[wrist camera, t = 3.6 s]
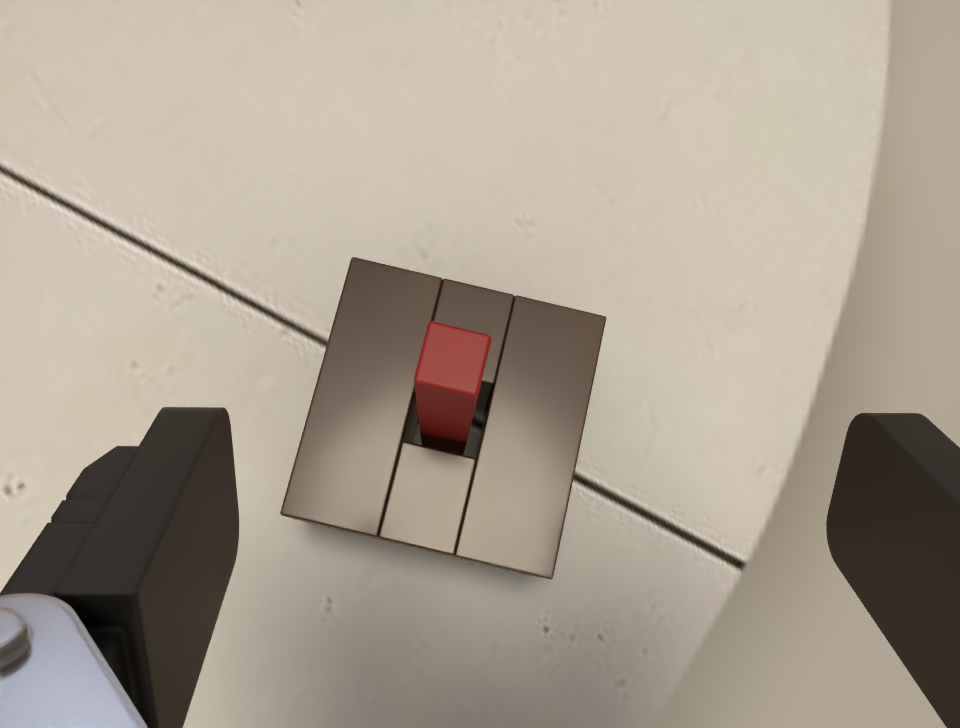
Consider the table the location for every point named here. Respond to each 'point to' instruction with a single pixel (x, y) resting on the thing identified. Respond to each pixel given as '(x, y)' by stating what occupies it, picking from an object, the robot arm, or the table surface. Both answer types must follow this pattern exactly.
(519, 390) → the stand
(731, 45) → the table surface
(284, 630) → the table surface
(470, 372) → the red square peg
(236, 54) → the table surface
